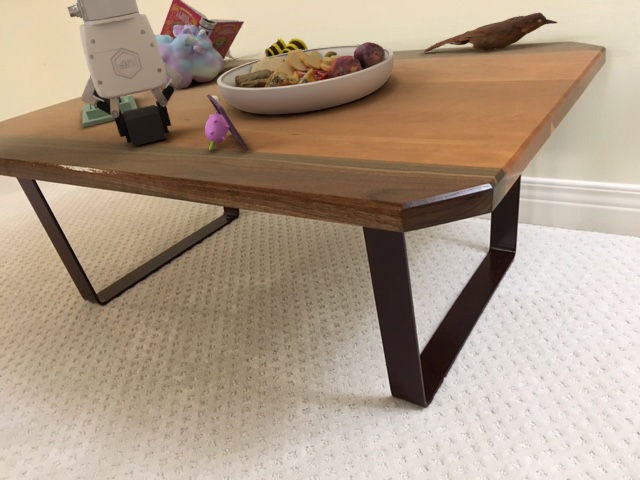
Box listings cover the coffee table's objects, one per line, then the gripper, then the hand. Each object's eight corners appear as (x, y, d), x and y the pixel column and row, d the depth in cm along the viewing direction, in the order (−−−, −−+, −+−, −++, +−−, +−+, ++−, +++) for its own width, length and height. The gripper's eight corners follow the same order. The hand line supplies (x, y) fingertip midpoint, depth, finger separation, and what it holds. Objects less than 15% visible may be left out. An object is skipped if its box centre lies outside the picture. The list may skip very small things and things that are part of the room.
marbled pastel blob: (114, 77, 111) (134, -11, 102) (142, 54, 129) (161, -22, 121) (210, 114, 115) (236, 33, 107) (224, 86, 134) (247, 15, 125)
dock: (83, 127, 97) (74, 101, 95) (83, 110, 110) (75, 86, 108) (139, 114, 99) (131, 88, 97) (133, 98, 113) (126, 75, 111)
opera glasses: (267, 66, 126) (260, 46, 123) (283, 57, 129) (276, 36, 126) (294, 68, 120) (287, 46, 117) (311, 58, 122) (304, 36, 119)
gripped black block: (133, 146, 80) (124, 120, 78) (130, 136, 85) (122, 111, 83) (166, 138, 81) (159, 112, 80) (161, 129, 86) (154, 104, 85)
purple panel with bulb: (226, 102, 68) (213, 90, 76) (191, 125, 68) (181, 111, 75) (253, 146, 72) (238, 130, 79) (221, 168, 71) (208, 150, 79)
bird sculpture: (429, 61, 113) (424, 37, 111) (559, 30, 101) (556, 2, 99) (422, 70, 108) (416, 45, 106) (558, 38, 96) (554, 9, 94)
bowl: (188, 122, 89) (175, 73, 85) (276, 75, 112) (268, 35, 108) (357, 120, 76) (350, 63, 72) (417, 68, 99) (414, 22, 95)
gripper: (42, 22, 69) (90, 156, 78) (174, -1, 74) (206, 128, 82) (45, 18, 75) (90, 143, 84) (167, -2, 80) (197, 118, 89)
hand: (147, 134), depth 83 cm, fingers closed on gripped black block, 5 cm apart
